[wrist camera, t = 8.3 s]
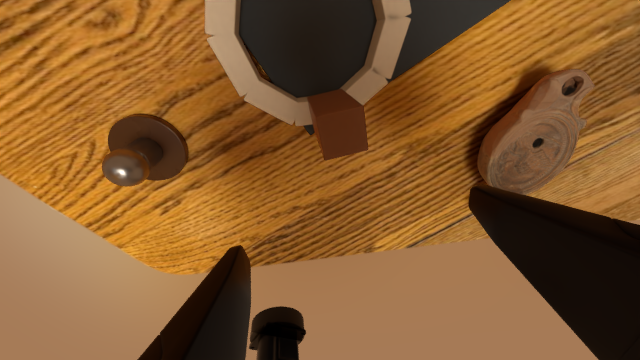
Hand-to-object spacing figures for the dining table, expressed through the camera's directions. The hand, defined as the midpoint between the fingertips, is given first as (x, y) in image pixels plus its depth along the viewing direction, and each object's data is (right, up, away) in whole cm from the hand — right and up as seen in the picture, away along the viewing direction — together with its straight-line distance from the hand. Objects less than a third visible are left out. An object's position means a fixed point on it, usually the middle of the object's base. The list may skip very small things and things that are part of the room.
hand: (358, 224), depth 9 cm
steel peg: (-14, +4, +9) cm, 17 cm away
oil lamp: (+15, +5, +13) cm, 21 cm away
